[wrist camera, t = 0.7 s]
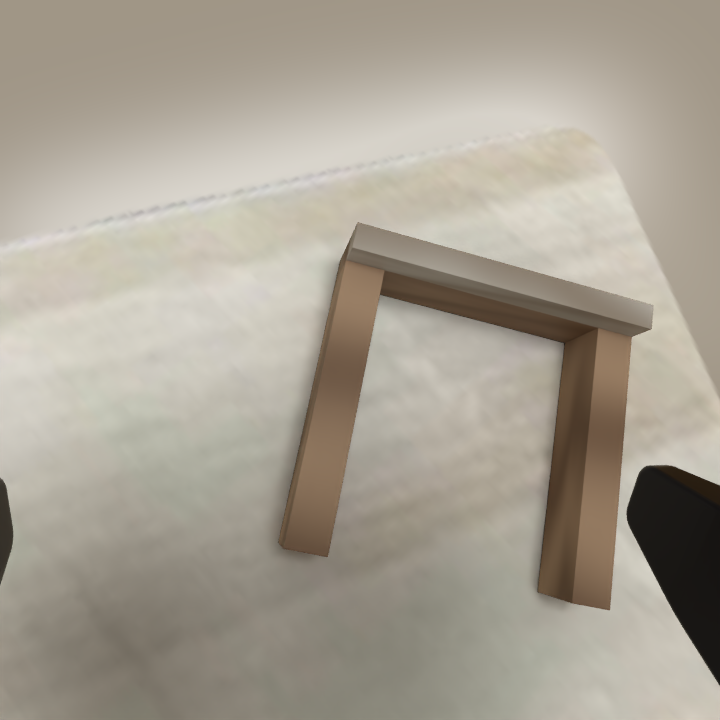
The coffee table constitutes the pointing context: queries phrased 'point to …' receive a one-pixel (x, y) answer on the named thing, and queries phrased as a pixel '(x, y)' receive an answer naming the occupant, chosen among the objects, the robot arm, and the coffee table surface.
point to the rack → (504, 308)
